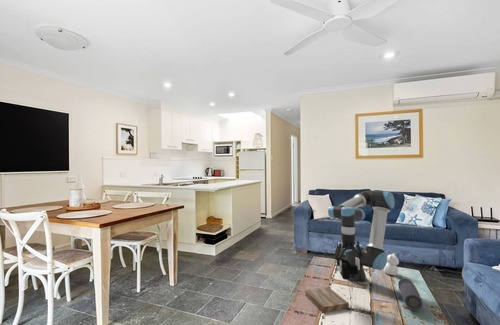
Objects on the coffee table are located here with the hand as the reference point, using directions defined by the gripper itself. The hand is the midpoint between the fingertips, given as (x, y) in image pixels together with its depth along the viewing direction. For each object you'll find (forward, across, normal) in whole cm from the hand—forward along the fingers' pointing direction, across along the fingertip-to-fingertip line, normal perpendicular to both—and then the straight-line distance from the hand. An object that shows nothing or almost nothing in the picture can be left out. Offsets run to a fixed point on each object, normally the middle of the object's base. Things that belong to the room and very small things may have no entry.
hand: (348, 270), depth 151 cm
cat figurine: (+17, -54, -24) cm, 62 cm away
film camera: (+3, 0, -1) cm, 3 cm away
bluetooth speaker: (+17, -32, +12) cm, 38 cm away
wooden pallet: (+17, +14, -2) cm, 22 cm away
